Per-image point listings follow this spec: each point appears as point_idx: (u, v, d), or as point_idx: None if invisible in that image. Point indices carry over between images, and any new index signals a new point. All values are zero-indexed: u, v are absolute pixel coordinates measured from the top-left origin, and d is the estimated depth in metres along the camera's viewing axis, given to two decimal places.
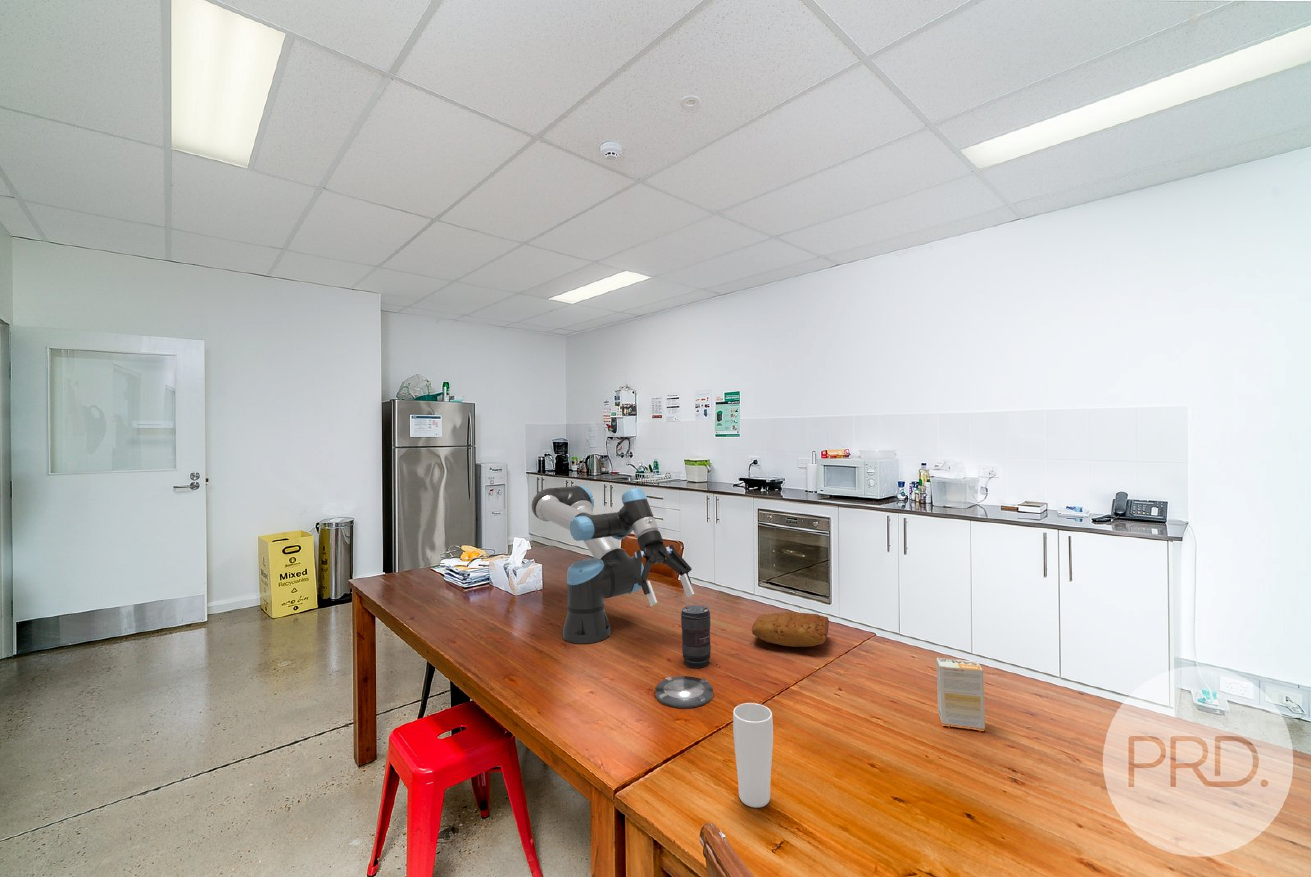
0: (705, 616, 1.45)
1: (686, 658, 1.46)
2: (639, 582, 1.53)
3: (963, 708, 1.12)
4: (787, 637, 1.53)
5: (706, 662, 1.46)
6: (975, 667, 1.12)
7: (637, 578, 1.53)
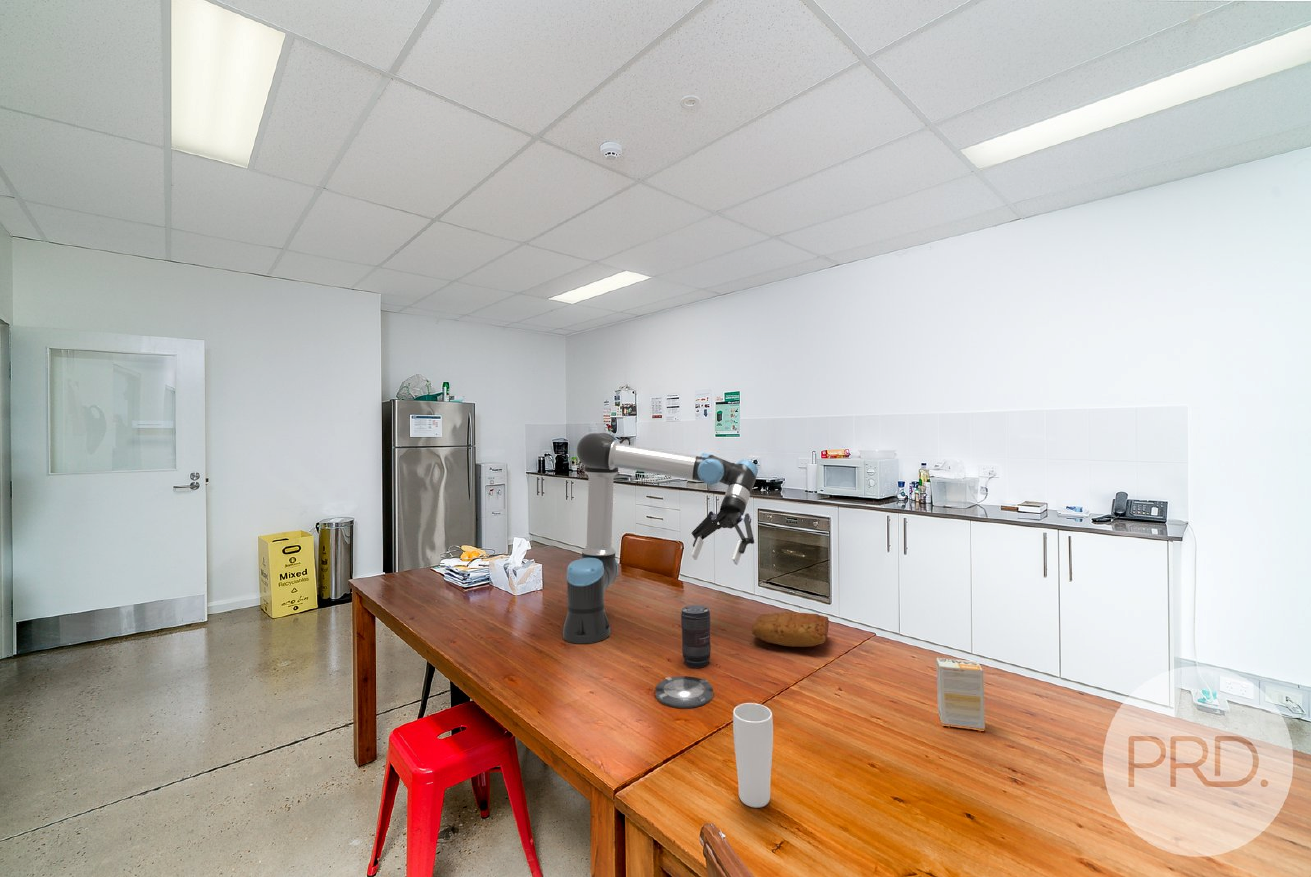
0: (705, 616, 1.45)
1: (686, 658, 1.46)
2: (748, 542, 1.56)
3: (963, 708, 1.12)
4: (787, 637, 1.53)
5: (706, 662, 1.46)
6: (975, 667, 1.12)
7: None
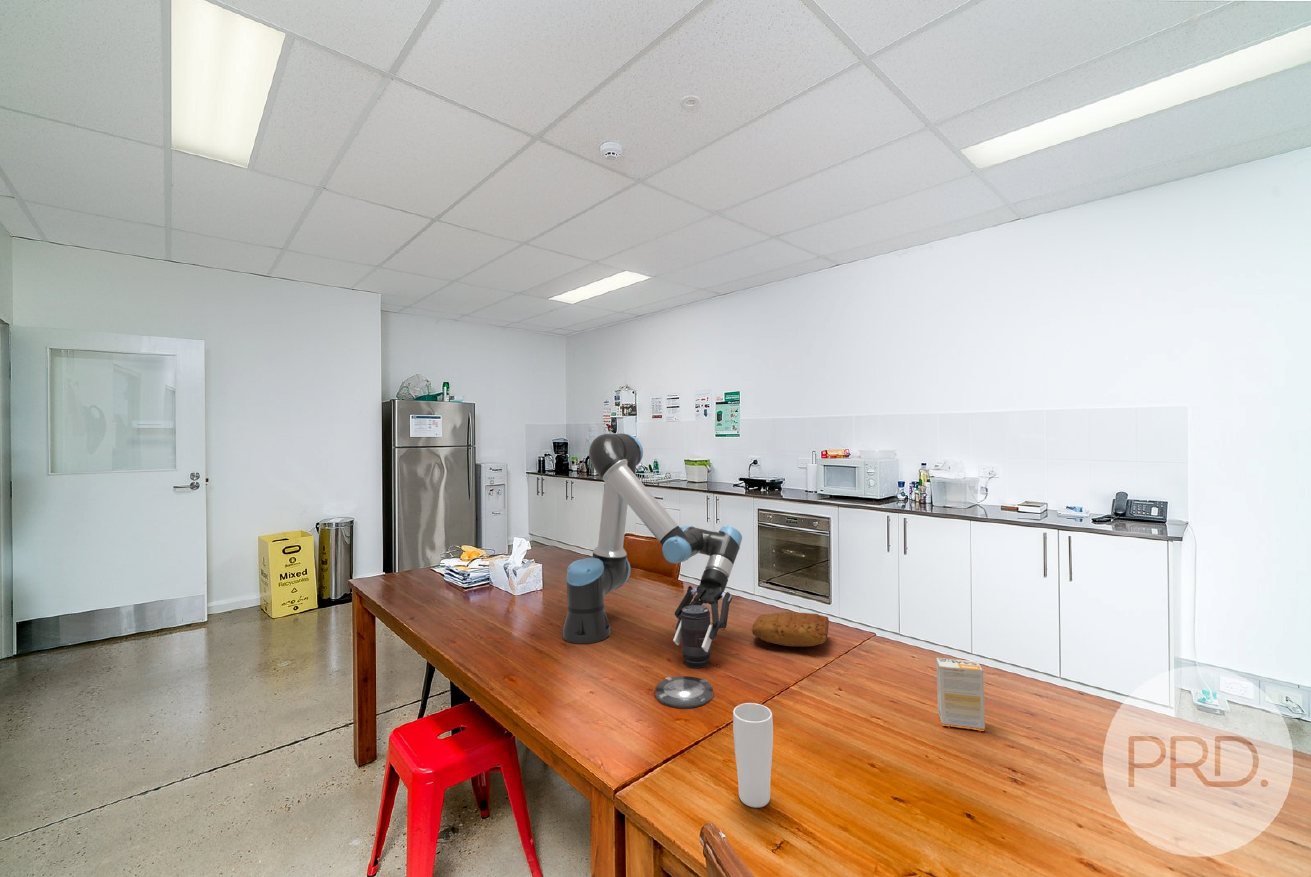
0: (705, 616, 1.45)
1: (686, 658, 1.46)
2: (720, 627, 1.46)
3: (963, 708, 1.12)
4: (787, 636, 1.53)
5: (706, 662, 1.46)
6: (975, 667, 1.12)
7: None
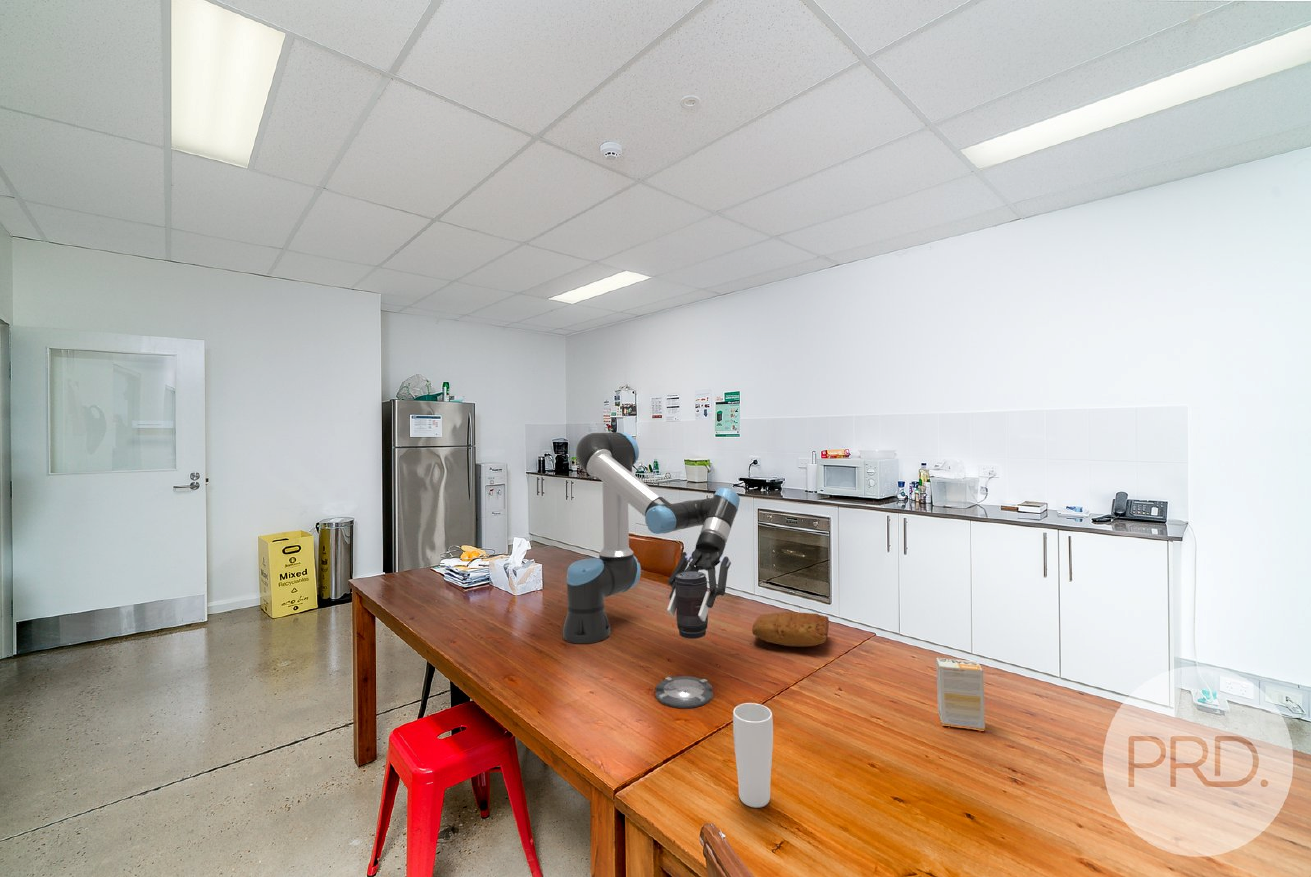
0: (701, 582, 1.32)
1: (681, 628, 1.32)
2: (718, 593, 1.33)
3: (963, 708, 1.12)
4: (787, 636, 1.53)
5: (703, 632, 1.33)
6: (975, 667, 1.12)
7: (723, 593, 1.33)
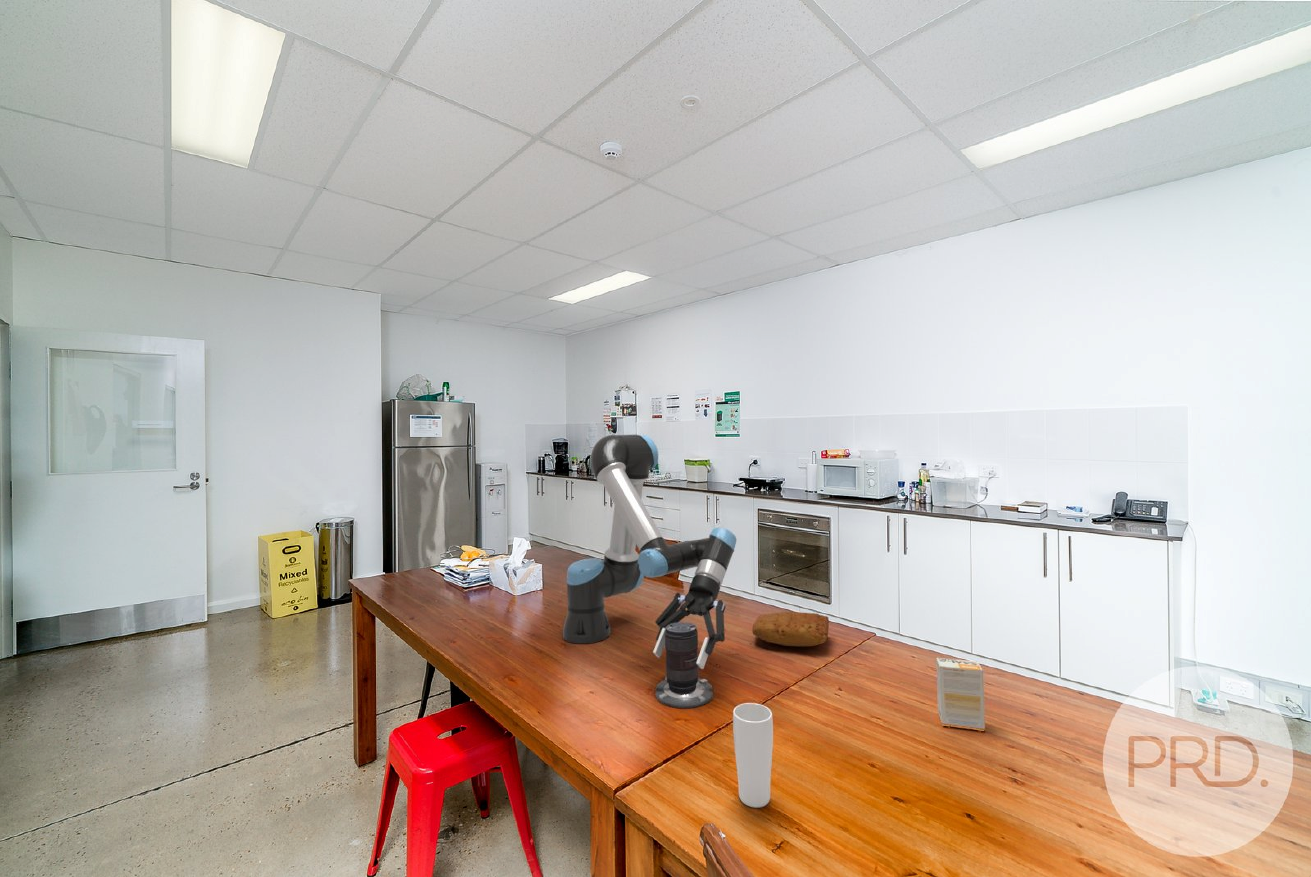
0: (691, 635, 1.28)
1: (670, 683, 1.28)
2: (717, 640, 1.28)
3: (963, 708, 1.12)
4: (788, 636, 1.53)
5: (693, 688, 1.29)
6: (975, 667, 1.12)
7: None
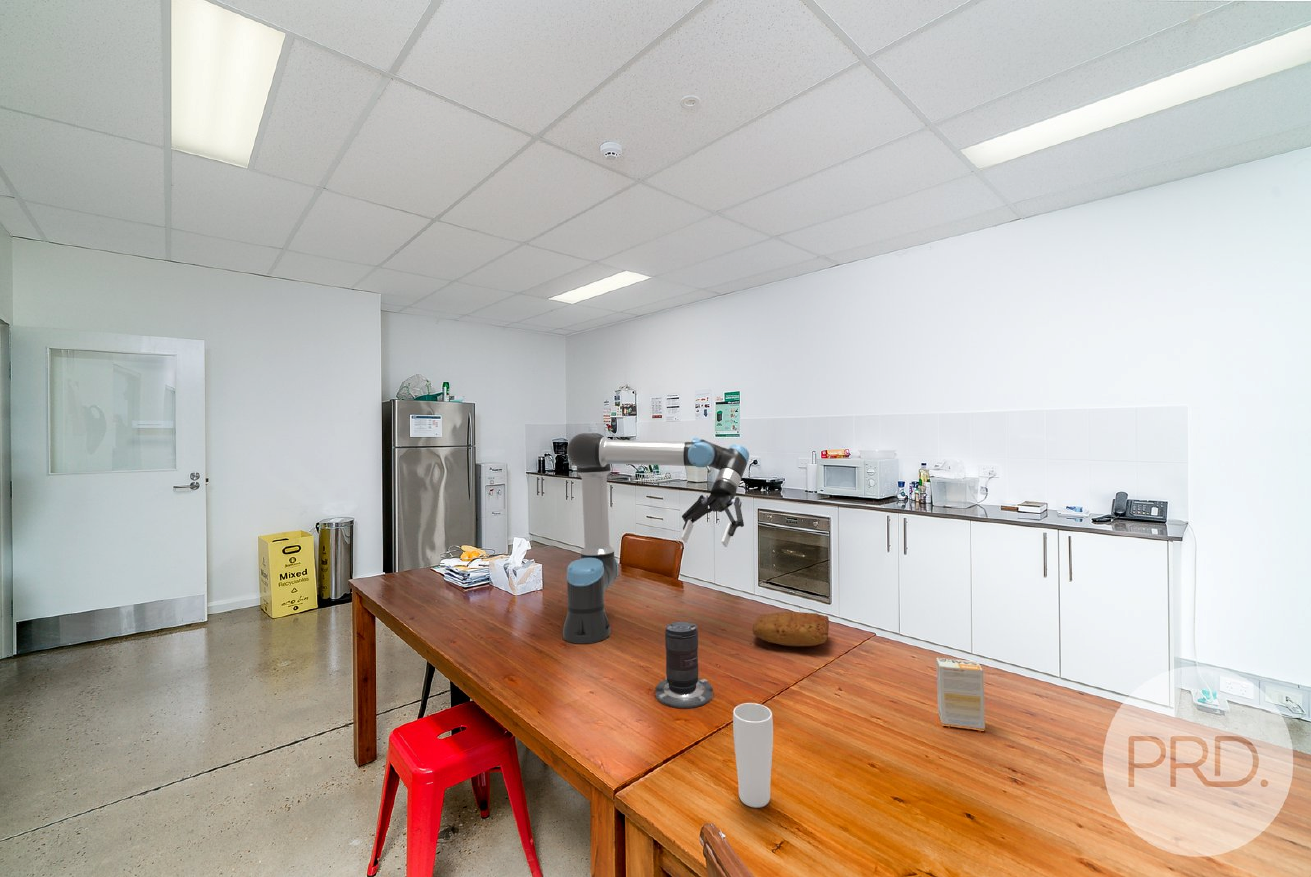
0: (691, 635, 1.28)
1: (670, 682, 1.28)
2: (738, 525, 1.56)
3: (963, 708, 1.12)
4: (788, 636, 1.53)
5: (693, 687, 1.29)
6: (975, 667, 1.12)
7: None
